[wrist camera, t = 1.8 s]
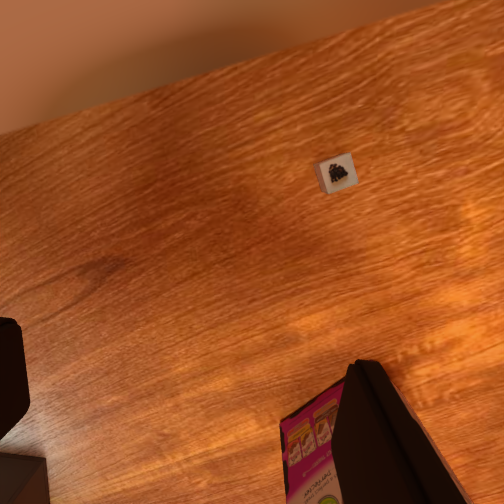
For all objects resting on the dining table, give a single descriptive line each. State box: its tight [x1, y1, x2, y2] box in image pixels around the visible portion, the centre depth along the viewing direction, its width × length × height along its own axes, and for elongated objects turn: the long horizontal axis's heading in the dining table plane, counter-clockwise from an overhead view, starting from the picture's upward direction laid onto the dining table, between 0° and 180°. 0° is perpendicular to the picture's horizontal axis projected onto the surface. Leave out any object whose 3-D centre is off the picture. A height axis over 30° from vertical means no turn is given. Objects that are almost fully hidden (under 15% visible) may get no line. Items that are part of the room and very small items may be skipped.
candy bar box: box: [279, 360, 474, 504], centre depth 20 cm, size 11×5×16 cm, turn 133°
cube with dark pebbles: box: [313, 152, 359, 194], centre depth 21 cm, size 2×2×2 cm
